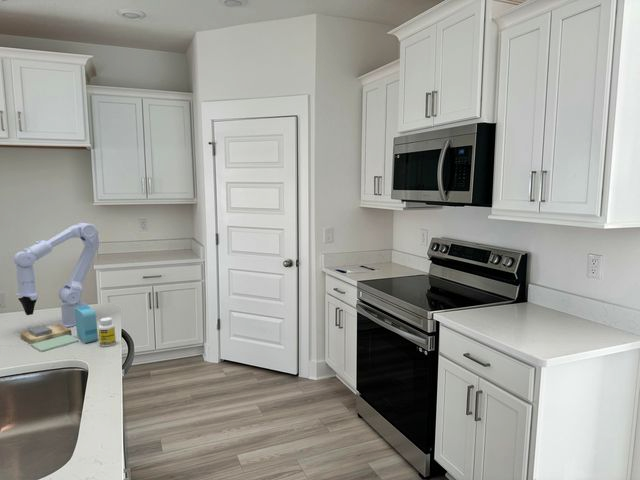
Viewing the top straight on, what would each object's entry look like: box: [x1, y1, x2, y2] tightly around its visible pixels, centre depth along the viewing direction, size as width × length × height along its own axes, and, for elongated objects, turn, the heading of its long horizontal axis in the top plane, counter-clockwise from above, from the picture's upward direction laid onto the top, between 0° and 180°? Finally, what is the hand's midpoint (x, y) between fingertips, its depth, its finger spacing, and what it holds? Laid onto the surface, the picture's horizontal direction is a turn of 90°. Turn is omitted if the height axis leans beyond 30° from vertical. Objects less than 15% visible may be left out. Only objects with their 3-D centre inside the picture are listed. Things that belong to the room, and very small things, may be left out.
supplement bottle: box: [98, 317, 117, 347], centre depth 165 cm, size 5×5×10 cm
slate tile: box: [27, 324, 52, 337], centre depth 173 cm, size 6×8×2 cm
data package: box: [75, 304, 99, 344], centre depth 171 cm, size 12×4×12 cm, turn 42°
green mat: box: [30, 335, 80, 353], centre depth 167 cm, size 13×10×1 cm
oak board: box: [19, 323, 73, 345], centre depth 174 cm, size 14×12×2 cm
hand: (29, 314), depth 178 cm, fingers closed
